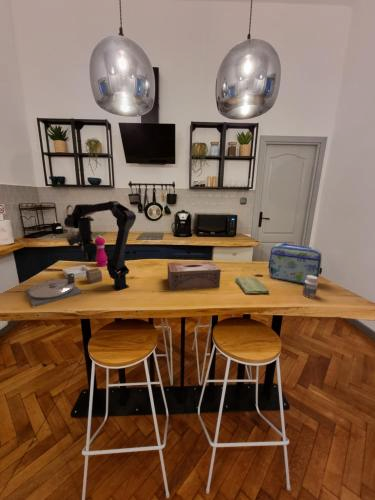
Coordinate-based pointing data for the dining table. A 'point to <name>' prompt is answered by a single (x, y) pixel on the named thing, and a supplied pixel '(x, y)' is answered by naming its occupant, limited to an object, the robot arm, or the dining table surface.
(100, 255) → the pepper mill
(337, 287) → the dining table surface
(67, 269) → the tray
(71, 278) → the crank
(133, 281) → the dining table surface
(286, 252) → the lunch box
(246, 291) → the washcloth
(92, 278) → the block
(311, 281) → the pill bottle
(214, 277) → the tissue box cover
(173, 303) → the dining table surface
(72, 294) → the crank board
